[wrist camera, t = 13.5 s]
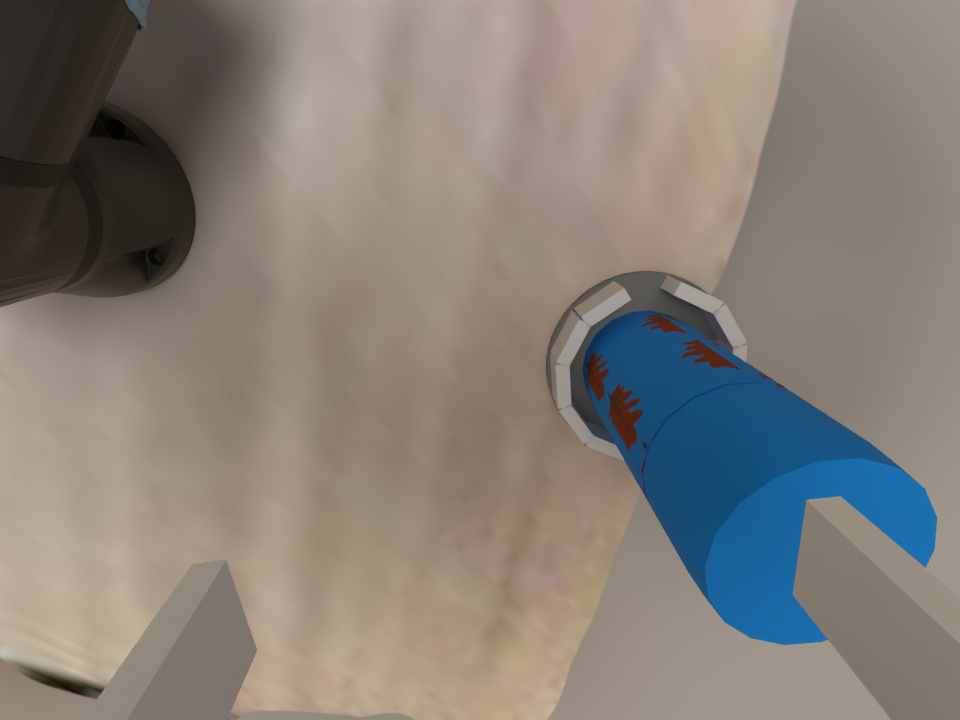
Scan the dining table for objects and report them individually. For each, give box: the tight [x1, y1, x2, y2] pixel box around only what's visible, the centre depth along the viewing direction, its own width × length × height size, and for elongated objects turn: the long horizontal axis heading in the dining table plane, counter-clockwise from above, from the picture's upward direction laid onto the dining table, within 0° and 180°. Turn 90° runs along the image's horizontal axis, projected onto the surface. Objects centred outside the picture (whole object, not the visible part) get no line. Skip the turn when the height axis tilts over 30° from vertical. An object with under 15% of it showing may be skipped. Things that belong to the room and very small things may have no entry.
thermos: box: [582, 310, 937, 645], centre depth 34 cm, size 11×11×25 cm
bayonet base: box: [546, 271, 748, 461], centre depth 45 cm, size 17×17×4 cm
